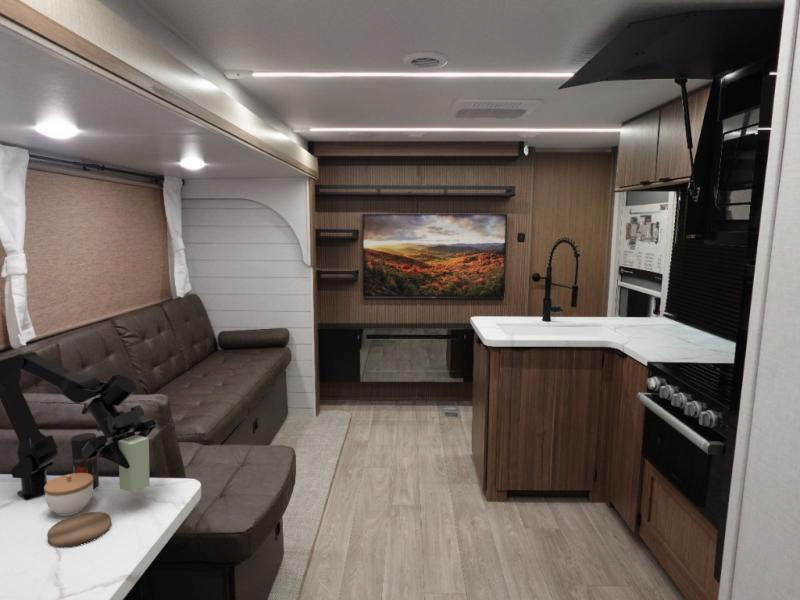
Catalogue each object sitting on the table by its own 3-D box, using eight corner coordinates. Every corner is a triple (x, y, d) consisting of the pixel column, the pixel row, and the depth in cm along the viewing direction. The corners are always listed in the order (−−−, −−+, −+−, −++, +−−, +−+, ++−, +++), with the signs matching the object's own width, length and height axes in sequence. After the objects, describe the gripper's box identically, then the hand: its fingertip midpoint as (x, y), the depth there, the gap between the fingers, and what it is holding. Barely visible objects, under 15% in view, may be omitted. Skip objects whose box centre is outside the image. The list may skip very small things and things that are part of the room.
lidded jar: (71, 523, 125) (68, 487, 124) (35, 518, 127) (32, 483, 126) (104, 502, 136) (102, 468, 135) (70, 497, 138) (68, 465, 137)
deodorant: (103, 484, 145) (100, 435, 144) (83, 494, 140) (79, 442, 138) (90, 480, 148) (87, 431, 146) (69, 489, 142) (66, 438, 141)
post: (119, 488, 132) (118, 440, 130) (136, 481, 136) (135, 434, 135) (132, 493, 129) (131, 444, 128) (149, 485, 134) (148, 438, 133)
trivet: (38, 534, 120) (38, 529, 120) (96, 511, 131) (96, 506, 130) (61, 554, 113) (61, 548, 112) (121, 528, 123) (120, 522, 123)
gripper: (86, 409, 123) (118, 460, 120) (151, 389, 140) (181, 434, 137) (67, 434, 128) (98, 485, 124) (133, 412, 144) (162, 456, 141)
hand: (137, 463), depth 132 cm, fingers closed on post, 5 cm apart
